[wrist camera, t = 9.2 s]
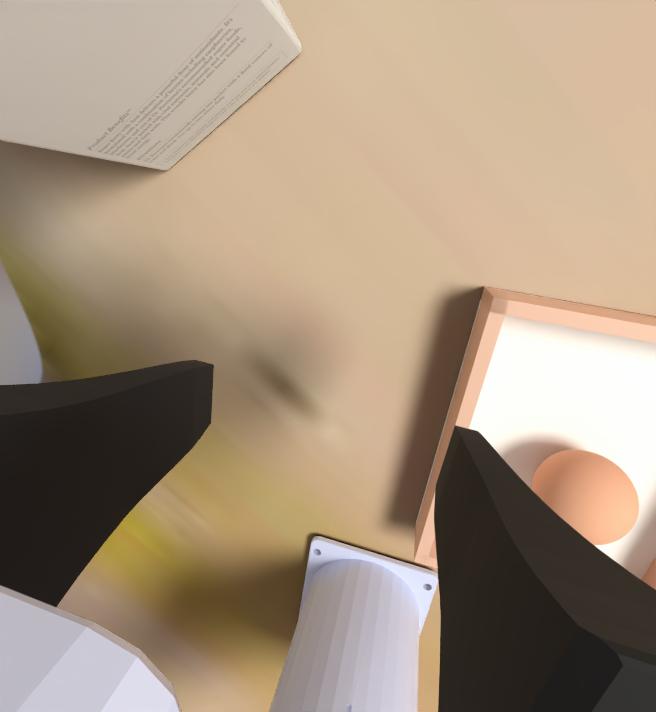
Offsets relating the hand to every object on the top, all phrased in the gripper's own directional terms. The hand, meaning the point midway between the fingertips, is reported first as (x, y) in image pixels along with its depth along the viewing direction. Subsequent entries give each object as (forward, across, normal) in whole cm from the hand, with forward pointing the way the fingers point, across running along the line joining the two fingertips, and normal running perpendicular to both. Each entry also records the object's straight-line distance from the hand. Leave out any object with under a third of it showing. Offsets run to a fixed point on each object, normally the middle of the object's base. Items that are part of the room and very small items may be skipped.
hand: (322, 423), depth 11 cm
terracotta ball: (+7, -11, +4) cm, 14 cm away
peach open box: (+9, -11, +4) cm, 15 cm away
